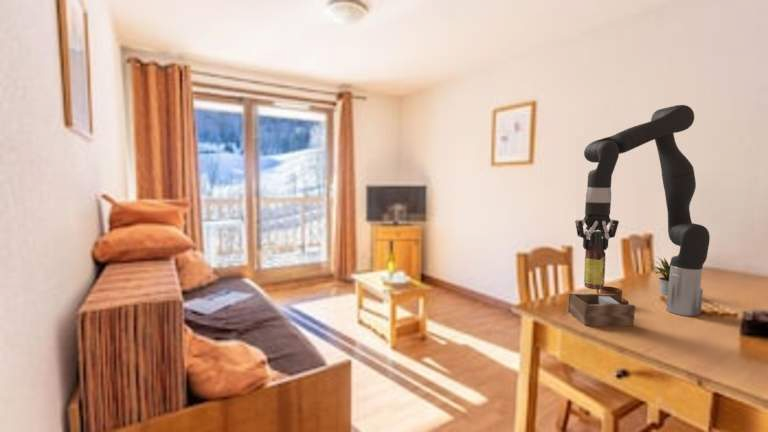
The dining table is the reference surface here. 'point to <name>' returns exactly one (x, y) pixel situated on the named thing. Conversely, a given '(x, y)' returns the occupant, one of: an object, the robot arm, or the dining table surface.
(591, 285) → the sauce bottle
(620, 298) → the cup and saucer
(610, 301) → the offcut top
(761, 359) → the dining table surface
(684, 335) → the dining table surface
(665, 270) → the house plant
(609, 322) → the wooden box
